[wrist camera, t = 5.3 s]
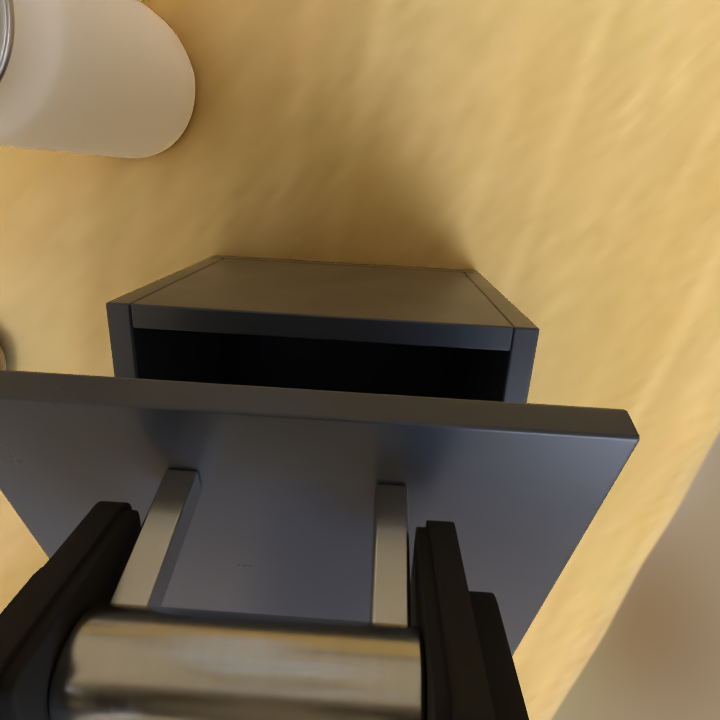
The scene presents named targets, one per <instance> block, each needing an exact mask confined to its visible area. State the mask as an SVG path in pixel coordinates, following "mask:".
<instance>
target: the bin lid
mask: <svg viewBox="0 0 720 720" xmlns="http://www.w3.org/2000/svg"><path fill="white" fill-rule="evenodd" d="M638 441H639V434H638V432H637V430H636V428H635V426H634V424H633V422H632V420H631V418H630V416H629V414H628V412H627V411H626V410H624V409H609V408H593V407H577V406H561V405H546V404H530V403H514V402H498V401H483V400H467V399H451V398H435V397H420V396H404V395H388V394H373V393H357V392H341V391H325V390H310V389H294V388H278V387H262V386H247V385H231V384H215V383H199V382H184V381H168V380H152V379H136V378H121V377H105V376H89V375H73V374H58V373H42V372H26V371H11V370H0V490H1V491H2V492H3V494H4V495H5V497H6V498H7V499H8V501H9V502H10V504H11V505H12V507H13V508H14V509H15V511H16V512H17V514H18V515H19V516H20V518H21V519H22V521H23V522H24V524H25V525H26V526H27V528H28V529H29V531H30V532H31V533H32V535H33V536H34V538H35V539H36V541H37V542H38V543H39V545H40V546H41V548H42V549H43V550H44V552H45V553H46V555H47V556H48V558H49V559H50V558H51V557H52V556H53V555H54V553H55V552H56V551H57V550H58V549H59V547H60V546H61V545H62V544H63V543H64V541H65V540H66V539H67V538H68V537H69V535H70V534H71V533H72V532H73V531H74V529H75V528H76V527H77V526H78V525H79V523H80V522H81V521H82V520H83V519H84V517H85V516H86V515H87V514H88V513H89V511H90V510H91V509H92V508H93V507H94V505H95V504H97V503H98V502H100V501H112V502H127V503H129V504H130V505H131V507H132V510H137V511H138V512H139V515H140V522H141V529H140V531H139V533H138V536H137V538H136V540H135V543H134V545H133V547H132V549H131V552H130V554H129V556H128V559H127V561H126V563H125V565H124V568H123V570H122V572H121V575H120V577H119V579H118V582H117V584H116V586H115V588H114V591H113V593H112V595H111V598H110V600H109V602H108V603H105V602H102V603H98V604H95V605H92V606H91V607H89V608H88V609H87V610H85V611H84V612H83V613H82V614H81V616H80V617H79V618H78V619H77V621H76V622H75V624H74V625H73V627H72V628H71V630H70V632H69V633H68V635H67V637H66V639H65V641H64V643H63V646H62V648H61V650H60V653H59V655H58V658H57V661H56V664H55V667H54V671H53V674H52V678H51V683H50V689H49V697H48V713H49V718H50V720H426V661H425V649H424V641H423V636H422V633H421V630H420V628H419V627H418V626H416V625H411V600H410V580H411V571H412V561H413V552H414V542H415V533H416V527H425V526H426V521H427V520H434V521H451V522H454V524H455V528H456V533H457V537H458V542H459V547H460V552H461V556H462V561H463V566H464V571H465V575H466V580H467V585H468V590H469V591H476V592H492V593H493V594H494V595H495V597H496V600H497V603H498V606H499V610H500V614H501V618H502V621H503V625H504V629H505V632H506V636H507V640H508V643H509V647H510V651H511V655H513V654H514V652H515V650H516V649H517V647H518V645H519V644H520V642H521V640H522V638H523V637H524V635H525V633H526V632H527V630H528V628H529V627H530V625H531V623H532V621H533V620H534V618H535V616H536V615H537V613H538V611H539V610H540V608H541V606H542V604H543V603H544V601H545V599H546V598H547V596H548V594H549V593H550V591H551V589H552V587H553V586H554V584H555V582H556V581H557V579H558V577H559V576H560V574H561V572H562V571H563V569H564V567H565V565H566V564H567V562H568V560H569V559H570V557H571V555H572V554H573V552H574V550H575V548H576V547H577V545H578V543H579V542H580V540H581V538H582V537H583V535H584V533H585V531H586V530H587V528H588V526H589V525H590V523H591V521H592V520H593V518H594V516H595V514H596V513H597V511H598V509H599V508H600V506H601V504H602V503H603V501H604V499H605V498H606V496H607V494H608V492H609V491H610V489H611V487H612V486H613V484H614V482H615V481H616V479H617V477H618V475H619V474H620V472H621V470H622V469H623V467H624V465H625V464H626V462H627V460H628V458H629V457H630V455H631V453H632V452H633V450H634V448H635V447H636V445H637V443H638Z"/></svg>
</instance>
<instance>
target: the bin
mask: <svg viewBox="0 0 720 720" xmlns="http://www.w3.org/2000/svg"><path fill="white" fill-rule="evenodd" d="M106 308H107V317H108V325H109V333H110V342H111V350H112V358H113V366H114V375H115V377H121V378H136V379H152V380H168V381H184V382H199V383H215V384H231V385H247V386H262V387H278V388H294V389H310V390H325V391H341V392H357V393H373V394H388V395H404V396H420V397H435V398H451V399H467V400H483V401H498V402H514V403H526V402H527V396H528V391H529V385H530V380H531V374H532V368H533V363H534V357H535V352H536V346H537V340H538V335H539V328H538V327H537V326H535V325H534V324H533V323H532V322H531V321H530V320H529V319H528V318H527V317H526V316H525V315H524V314H523V313H521V312H520V311H519V310H518V309H517V308H516V307H515V306H514V305H513V304H512V303H511V302H510V301H509V300H508V299H506V298H505V297H504V296H503V295H502V294H501V293H500V292H499V291H498V290H497V289H496V288H495V287H494V286H492V285H491V284H490V283H489V282H488V281H487V280H486V279H485V278H484V277H483V276H482V275H481V274H479V273H478V272H477V271H472V270H454V269H437V268H420V267H403V266H386V265H369V264H352V263H334V262H317V261H300V260H283V259H266V258H249V257H231V256H212V257H210V258H207V259H205V260H203V261H201V262H198V263H196V264H194V265H191V266H189V267H187V268H185V269H182V270H180V271H178V272H175V273H173V274H171V275H169V276H166V277H164V278H162V279H159V280H157V281H155V282H153V283H150V284H148V285H146V286H144V287H141V288H139V289H137V290H134V291H132V292H130V293H128V294H125V295H123V296H121V297H118V298H116V299H114V300H112V301H109V302H107V303H106Z"/></svg>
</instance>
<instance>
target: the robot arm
mask: <svg viewBox="0 0 720 720" xmlns="http://www.w3.org/2000/svg"><path fill="white" fill-rule="evenodd" d="M140 529H141V522H140V515H139V512H138V511H137V510H132V507H131V505H130V504H129V503H127V502H112V501H100V502H98V503H97V504H95V505H94V507H93V508H92V509H91V510H90V511H89V513H88V514H87V515H86V516H85V517H84V519H83V520H82V521H81V522H80V523H79V525H78V526H77V527H76V528H75V529H74V531H73V532H72V533H71V534H70V535H69V537H68V538H67V539H66V540H65V541H64V543H63V544H62V545H61V546H60V547H59V549H58V550H57V551H56V552H55V553H54V555H53V556H52V557H51V558H50V559H49V561H48V562H47V563H46V564H45V565H44V567H42V568H40V569H39V570H38V571H37V572H36V573H35V574H34V575H33V576H32V577H31V578H30V579H29V581H28V582H27V583H26V584H25V585H24V587H23V588H22V589H21V590H20V591H19V593H18V594H17V595H16V596H15V597H14V599H13V600H12V601H11V602H10V603H9V604H8V606H7V607H6V608H5V609H4V610H3V612H2V613H1V614H0V720H50V718H49V713H48V697H49V689H50V683H51V678H52V674H53V671H54V667H55V664H56V661H57V658H58V655H59V653H60V650H61V648H62V646H63V643H64V641H65V639H66V637H67V635H68V633H69V632H70V630H71V628H72V627H73V625H74V624H75V622H76V621H77V619H78V618H79V617H80V616H81V614H82V613H83V612H84V611H85V610H87V609H88V608H89V607H91V606H92V605H95V604H98V603H102V602H105V603H108V602H109V600H110V598H111V595H112V593H113V591H114V588H115V586H116V584H117V582H118V579H119V577H120V575H121V572H122V570H123V568H124V565H125V563H126V561H127V559H128V556H129V554H130V552H131V549H132V547H133V545H134V543H135V540H136V538H137V536H138V533H139V531H140ZM410 600H411V625H416V626H418V627H419V628H420V630H421V633H422V636H423V641H424V649H425V661H426V720H529V718H528V714H527V710H526V706H525V703H524V699H523V695H522V692H521V688H520V684H519V681H518V677H517V673H516V669H515V666H514V662H513V658H512V655H511V651H510V647H509V643H508V640H507V636H506V632H505V629H504V625H503V621H502V618H501V614H500V610H499V606H498V603H497V600H496V597H495V595H494V594H493V593H492V592H476V591H469V590H468V585H467V580H466V575H465V571H464V566H463V561H462V556H461V552H460V547H459V542H458V537H457V533H456V528H455V524H454V522H451V521H434V520H427V521H426V526H425V527H416V533H415V542H414V552H413V561H412V571H411V580H410Z"/></svg>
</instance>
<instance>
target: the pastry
mask: <svg viewBox="0 0 720 720" xmlns="http://www.w3.org/2000/svg"><path fill="white" fill-rule="evenodd" d="M0 370H6V360H5V355H4V352H3V350H2V348H1V346H0Z"/></svg>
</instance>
